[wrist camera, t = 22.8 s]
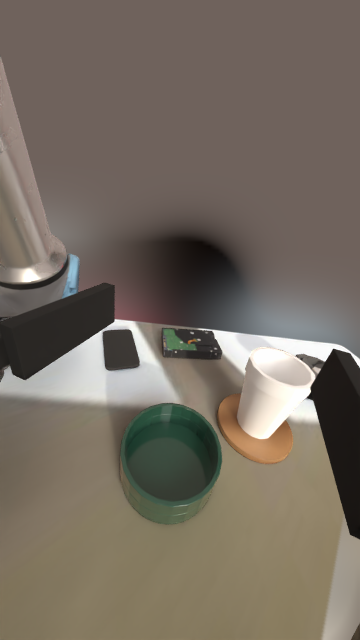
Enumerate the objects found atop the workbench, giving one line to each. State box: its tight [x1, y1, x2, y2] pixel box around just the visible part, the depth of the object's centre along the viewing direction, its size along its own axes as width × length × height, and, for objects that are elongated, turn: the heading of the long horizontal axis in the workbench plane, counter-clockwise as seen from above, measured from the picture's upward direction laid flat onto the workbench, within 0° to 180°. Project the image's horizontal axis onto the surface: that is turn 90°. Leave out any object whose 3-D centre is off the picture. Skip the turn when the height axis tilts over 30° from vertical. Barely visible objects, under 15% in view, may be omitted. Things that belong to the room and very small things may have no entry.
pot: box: [120, 403, 222, 524], centre depth 29 cm, size 13×13×4 cm
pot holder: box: [217, 394, 293, 464], centre depth 38 cm, size 13×13×1 cm
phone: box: [103, 330, 140, 370], centre depth 51 cm, size 7×1×15 cm
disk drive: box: [162, 328, 222, 359], centre depth 56 cm, size 10×3×15 cm
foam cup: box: [237, 347, 315, 439], centre depth 34 cm, size 10×9×13 cm
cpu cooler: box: [296, 354, 325, 400], centre depth 48 cm, size 10×6×10 cm
